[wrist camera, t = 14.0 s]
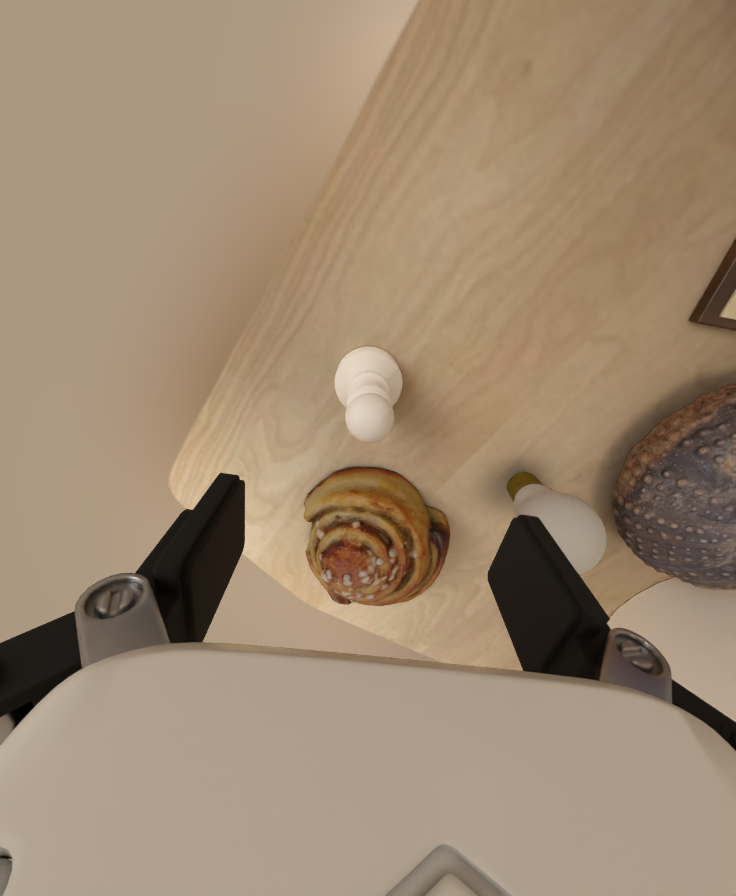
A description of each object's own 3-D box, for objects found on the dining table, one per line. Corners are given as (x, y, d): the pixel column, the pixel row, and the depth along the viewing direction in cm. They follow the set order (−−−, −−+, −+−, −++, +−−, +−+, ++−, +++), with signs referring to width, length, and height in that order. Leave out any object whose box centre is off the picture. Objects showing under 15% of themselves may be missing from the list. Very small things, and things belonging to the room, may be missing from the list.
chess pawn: (358, 419, 28) (355, 480, 20) (323, 368, 26) (304, 413, 18) (412, 388, 27) (432, 440, 19) (379, 332, 25) (386, 363, 17)
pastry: (351, 441, 29) (347, 498, 22) (474, 524, 33) (504, 593, 26) (272, 535, 34) (247, 607, 27) (388, 597, 38) (394, 672, 31)
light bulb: (473, 495, 32) (515, 583, 23) (507, 442, 29) (570, 519, 20) (527, 512, 33) (588, 603, 24) (565, 463, 30) (648, 544, 21)
